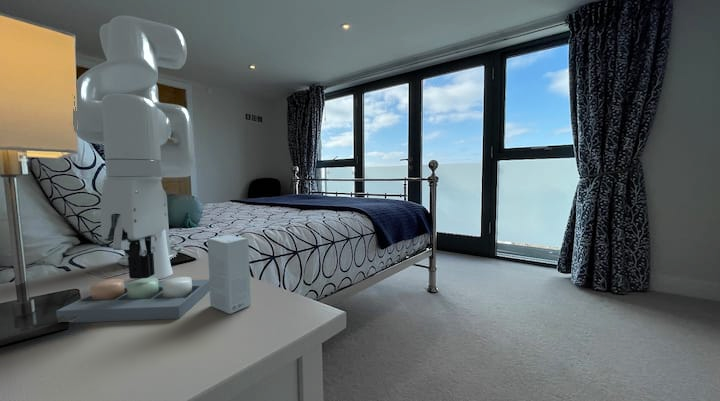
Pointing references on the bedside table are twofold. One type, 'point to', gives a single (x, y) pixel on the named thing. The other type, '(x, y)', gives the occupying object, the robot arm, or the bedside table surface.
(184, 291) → the ivory button
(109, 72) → the robot arm
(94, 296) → the terracotta button
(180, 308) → the button board
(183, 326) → the bedside table surface
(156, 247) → the cosmetic bottle
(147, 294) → the sage button
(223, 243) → the skincare box
